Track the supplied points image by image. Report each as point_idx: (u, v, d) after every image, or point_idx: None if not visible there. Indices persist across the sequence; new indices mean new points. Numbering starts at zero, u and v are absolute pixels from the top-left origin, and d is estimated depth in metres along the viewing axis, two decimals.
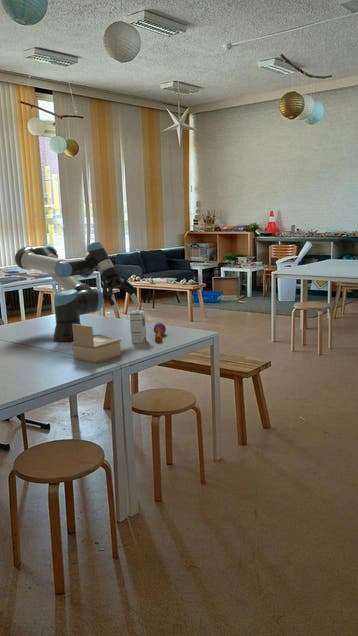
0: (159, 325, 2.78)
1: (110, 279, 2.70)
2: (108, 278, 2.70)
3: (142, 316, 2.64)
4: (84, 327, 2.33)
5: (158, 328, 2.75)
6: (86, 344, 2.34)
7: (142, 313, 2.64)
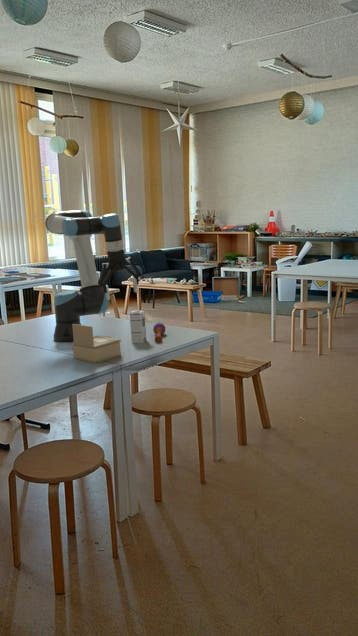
0: (159, 325, 2.78)
1: (113, 263, 2.50)
2: (111, 261, 2.50)
3: (142, 316, 2.64)
4: (84, 327, 2.33)
5: (158, 328, 2.75)
6: (86, 344, 2.34)
7: (142, 313, 2.64)
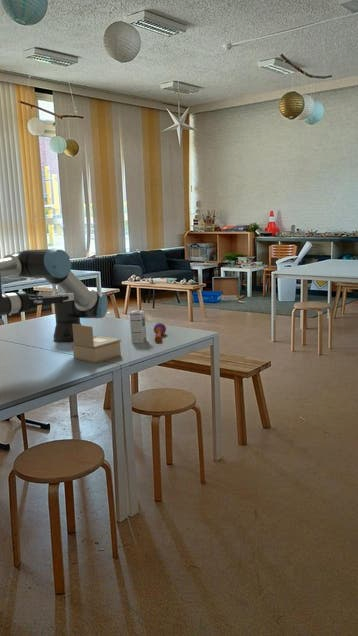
0: (159, 325, 2.77)
1: None
2: None
3: (142, 316, 2.64)
4: (84, 327, 2.33)
5: (158, 328, 2.75)
6: (86, 344, 2.34)
7: (142, 313, 2.64)
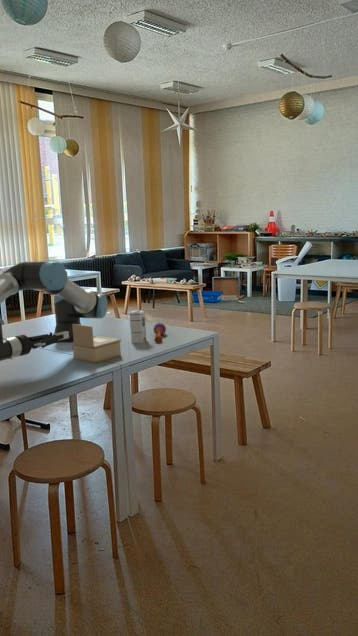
0: (159, 325, 2.77)
1: None
2: None
3: (142, 316, 2.64)
4: (84, 327, 2.33)
5: (158, 328, 2.75)
6: (86, 344, 2.34)
7: (142, 313, 2.64)
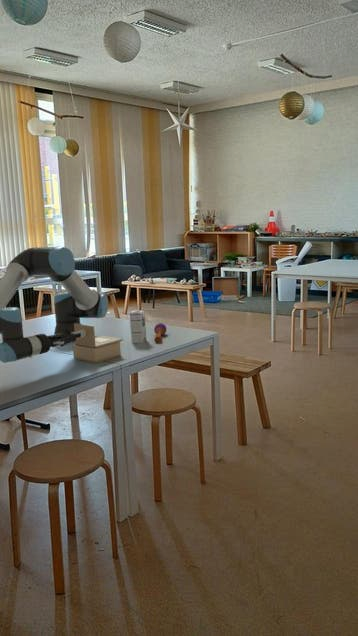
0: (160, 325, 2.77)
1: None
2: None
3: (142, 316, 2.64)
4: (86, 327, 2.34)
5: (158, 328, 2.75)
6: (88, 344, 2.35)
7: (142, 313, 2.64)
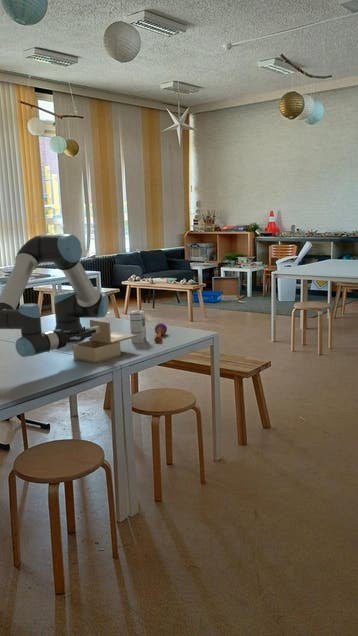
0: (160, 325, 2.77)
1: None
2: None
3: (142, 316, 2.64)
4: (101, 323, 2.40)
5: (159, 328, 2.75)
6: (103, 339, 2.41)
7: (142, 313, 2.64)
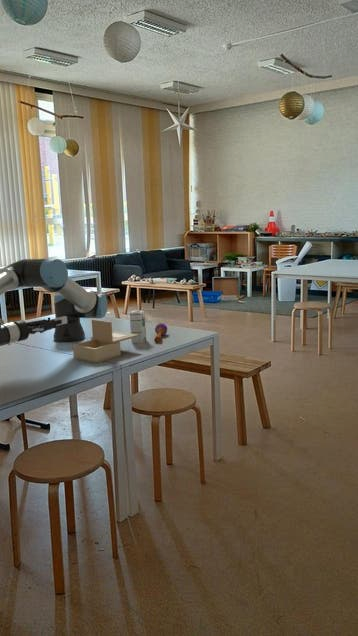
0: (160, 325, 2.77)
1: None
2: None
3: (142, 316, 2.64)
4: (103, 322, 2.41)
5: (159, 328, 2.75)
6: (105, 339, 2.42)
7: (142, 313, 2.64)
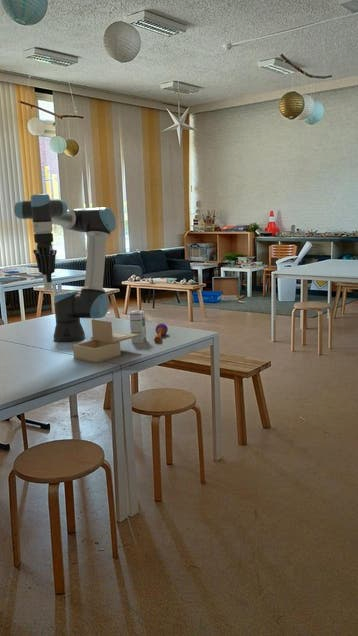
0: (161, 325, 2.77)
1: (38, 245, 2.36)
2: None
3: (142, 316, 2.64)
4: (103, 322, 2.41)
5: (159, 328, 2.74)
6: (105, 339, 2.42)
7: (142, 313, 2.64)
